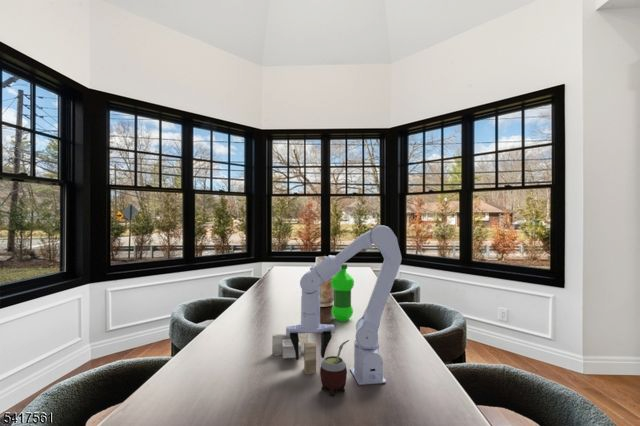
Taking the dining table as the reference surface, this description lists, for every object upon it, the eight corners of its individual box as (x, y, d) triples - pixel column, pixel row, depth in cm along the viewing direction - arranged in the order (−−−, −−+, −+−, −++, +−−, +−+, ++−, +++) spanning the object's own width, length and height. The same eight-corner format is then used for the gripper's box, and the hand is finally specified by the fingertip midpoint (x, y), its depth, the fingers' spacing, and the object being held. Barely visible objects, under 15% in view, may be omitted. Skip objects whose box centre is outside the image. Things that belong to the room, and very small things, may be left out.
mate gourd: (322, 382, 89) (322, 328, 89) (350, 385, 88) (351, 330, 88) (317, 397, 81) (318, 338, 82) (348, 400, 80) (349, 340, 80)
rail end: (316, 373, 94) (316, 345, 94) (305, 373, 94) (305, 346, 94) (314, 368, 97) (314, 341, 97) (304, 368, 97) (304, 342, 97)
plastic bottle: (329, 316, 149) (330, 262, 150) (352, 316, 150) (352, 262, 150) (331, 323, 139) (331, 265, 140) (355, 323, 140) (355, 266, 140)
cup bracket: (310, 362, 101) (311, 342, 101) (272, 365, 99) (272, 344, 99) (307, 351, 109) (307, 332, 109) (272, 353, 107) (272, 334, 107)
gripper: (331, 307, 101) (330, 350, 101) (285, 308, 99) (284, 353, 98) (336, 313, 94) (335, 360, 94) (287, 315, 92) (286, 363, 91)
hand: (309, 357), depth 96 cm, fingers open, 7 cm apart
